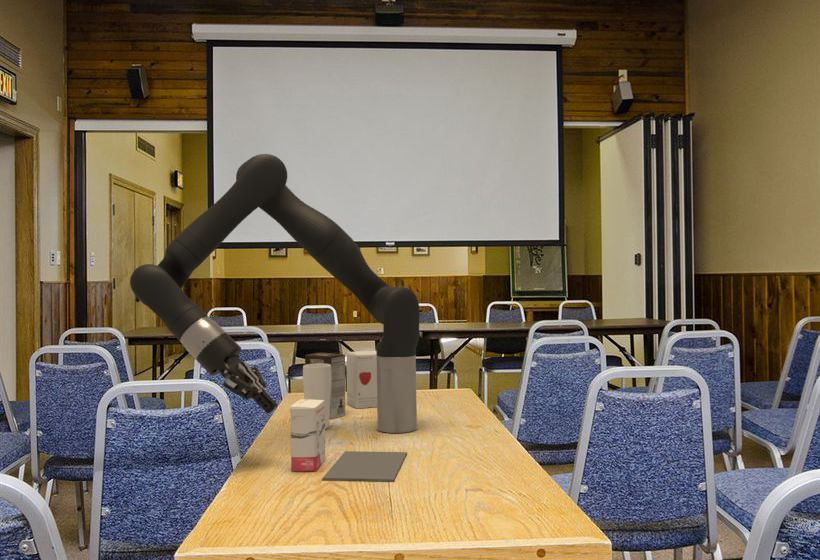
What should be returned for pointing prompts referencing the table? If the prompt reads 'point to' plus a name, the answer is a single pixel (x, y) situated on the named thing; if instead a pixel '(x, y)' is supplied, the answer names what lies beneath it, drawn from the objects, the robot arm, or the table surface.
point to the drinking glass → (318, 385)
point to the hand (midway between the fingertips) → (273, 409)
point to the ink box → (307, 434)
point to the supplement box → (362, 379)
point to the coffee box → (333, 379)
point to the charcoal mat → (366, 466)
